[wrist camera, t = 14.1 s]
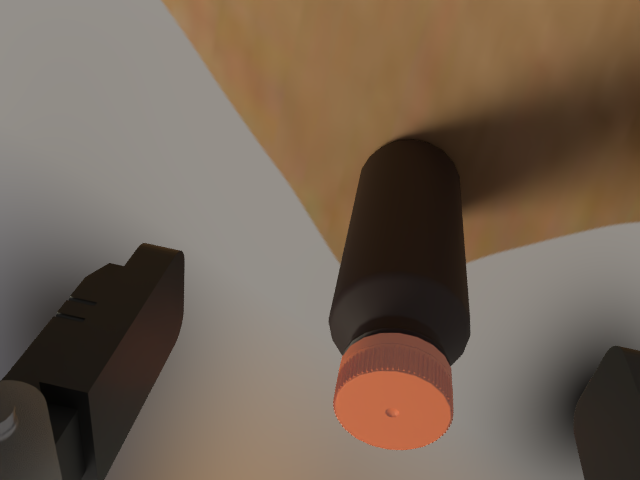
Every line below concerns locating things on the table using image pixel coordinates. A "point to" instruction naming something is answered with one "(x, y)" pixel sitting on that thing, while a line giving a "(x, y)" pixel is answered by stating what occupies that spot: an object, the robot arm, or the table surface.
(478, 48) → the table surface
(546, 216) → the table surface
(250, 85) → the table surface
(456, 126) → the table surface
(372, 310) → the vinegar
